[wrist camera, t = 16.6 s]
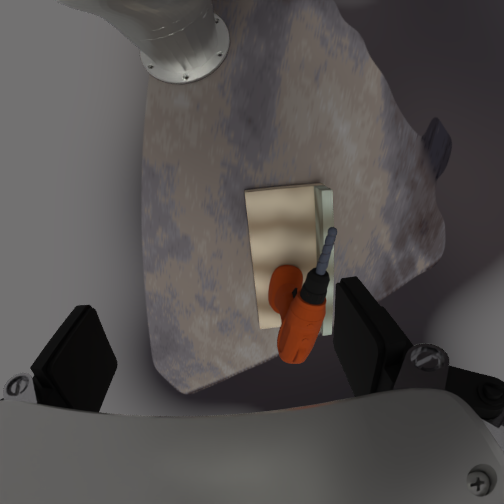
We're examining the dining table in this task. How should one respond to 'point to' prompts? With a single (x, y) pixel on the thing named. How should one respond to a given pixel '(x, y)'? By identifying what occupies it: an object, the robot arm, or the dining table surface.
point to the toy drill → (300, 304)
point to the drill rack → (288, 239)
